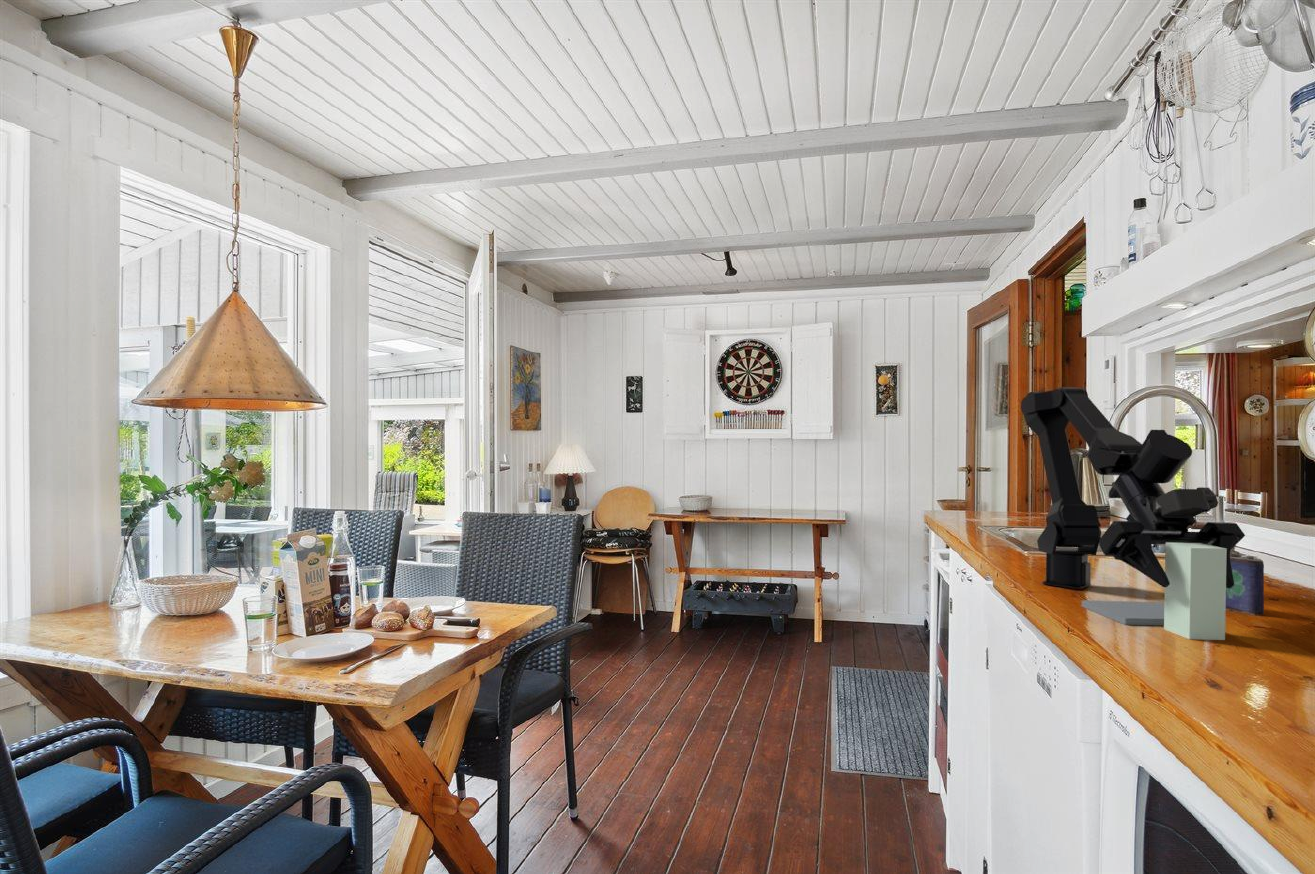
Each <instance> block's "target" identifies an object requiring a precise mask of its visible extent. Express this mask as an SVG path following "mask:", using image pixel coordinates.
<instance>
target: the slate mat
mask: <svg viewBox="0 0 1315 874" xmlns="http://www.w3.org/2000/svg"><path fill="white" fill-rule="evenodd" d="M1081 607H1082V608H1084V609H1086V610H1090V611H1092V612H1094V613H1097V614H1099V615H1100V616H1103V617H1106V618H1108V619H1110V620H1113V621H1116V622H1118V623H1120V624H1122V625H1125V626H1164V601H1135V600H1133V601H1132V600H1130V601H1129V600H1127V601H1126V600H1125V601H1123V600H1122V601H1121V600H1081Z"/></svg>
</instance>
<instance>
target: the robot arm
mask: <svg viewBox="0 0 1315 874" xmlns="http://www.w3.org/2000/svg"><path fill="white" fill-rule="evenodd" d="M1020 410H1021V413H1023V414H1022V416H1023V418H1024V420H1025V424H1026V425H1027V427H1029V429H1031V431H1033V433H1034V434H1036V435H1037V438H1038V442H1039V446H1040V447H1039V448H1040V451H1041V456H1042V457H1041V458H1042V461H1043V465H1044V466H1043V467H1044V470H1045V476H1046V480H1047V485H1048V489H1049V494H1050V499H1051V506H1050V508H1049V510H1048V512H1047V515H1046V516H1045V523H1046V524H1045V525H1046V526H1045V528H1044V529H1043V531H1041V533H1040V535H1039V537H1038V538H1037V540H1036V542H1037V549H1038V551H1039V552H1042V553H1046V555H1045V559H1046V560H1045V580H1042V581H1041V584H1043V585H1050V586H1054V587H1059V588H1060V587H1061V588H1065V589H1066V588H1067V589H1072V590H1081V589H1085V588H1088V587H1090V586H1091V585H1092V583H1091V575H1092V574H1091V573H1092V572H1091V570H1092V569H1091V567H1092V565H1091V564H1092V563H1091V562H1089V561H1088V560H1089V556H1090V555H1091V556H1097V553H1098V549H1099V548H1100V549H1101V551H1102V553H1103V554H1104V556H1106V557H1113V558H1114V559H1115V561H1116V560H1117V561H1121V562H1123V563H1125V564H1127V565H1128V566H1130V567H1131V568H1134V569H1135V570H1137V571H1138V572H1140V573H1141V574H1143V575H1145V576H1146V577H1148V578H1149V579H1151V580H1152V581H1153V582H1154V583H1156V584H1158V585H1159V586H1161V587H1162V588H1165V587H1168V586H1169V584H1170V582H1169V580H1168V578H1167V575H1166V573H1165V569H1164V568H1163V567H1162V565H1161V563H1160V561H1159V559H1158V558H1157V555H1156V554H1155V552H1154V551H1153V548H1152V547H1153V546H1152V545H1157V546H1165V544H1166V542H1168V543H1202V544H1207V545H1212V546H1216V547H1221V548H1226V549H1227V556H1226V587H1227V588H1232V587H1233V586H1234V579H1233V573H1232V567H1231V561H1230V550H1231V549H1232V548H1233V547H1234V546H1237V545H1238V543H1239V542H1240V541H1242V539H1244V537H1246V534H1245V533H1244V531H1243V530H1242V529H1241V528H1240V526H1239V525H1238V524H1237V523H1235V522H1225V521H1224V522H1216V521H1214V522H1213V521H1208V522H1206V524H1204V525H1203V527H1202V528H1201V529H1200V530H1199V531H1189V527H1191V526H1193V525H1194V524H1195V523H1196V522H1197V520H1196V518H1195V517H1197V516H1198V515H1201V514H1203V513H1208V512H1210V511H1211V510H1213V509H1214V508H1217V507H1218V505H1219V500H1218V497H1217V496H1216V494H1215V493H1214V492H1213V491H1212V489H1211V488H1210V487H1203V486H1202V487H1199V486H1198V487H1197V488H1178V489H1177V488H1176V489H1172V490H1170V491H1169V490H1168V492H1165V491H1164V490H1163V488H1162V486H1161V485H1160V484H1168V483H1170V482H1171V481H1172V480H1173V479H1174V478H1175V477H1176V475H1177V474H1178V473H1179V471H1180V470H1181V469H1182V467H1184V465H1185V464H1186V463H1187V461H1188V460H1189V459H1190V458H1191V456H1192V455H1193V450H1192V448H1191V446H1190V444H1189V443H1187V442H1185V441H1184V440H1183V439H1180V438H1179V437H1177V436H1174V435H1172V434H1168V433H1167V432H1166V430H1165V429H1150V431H1149V432H1148V434H1147V436H1146V438H1145V440H1143V442H1142V443H1141V442H1140V441H1139V440H1137V439H1136V438H1135V437H1133V436H1131V435H1129V434H1127V433H1124V432H1122V431H1119V429H1116V428H1115V427H1114V425H1113V424H1112V423H1111V422H1110V421H1109V420H1108V419H1107V418H1106V416H1105V415H1104V414H1103V413H1102V412H1101V411H1100V409H1099V408H1098V407H1097V406H1096V405H1095V403H1093V401H1092V399H1090V397H1089V394H1088V392H1087V390H1086V389H1084V388H1081V387H1064V386H1063V387H1059V388H1055V389H1051V390H1048V391H1030V392H1028V393H1027V394H1026V396H1024V397H1023V398H1022V400H1021V401H1020ZM1069 423H1071V425H1072V426H1073V427H1074V428H1075V430H1076V431H1077V432H1078V434H1079V435H1080V436H1081V438H1082V439H1083V440H1084V441H1085V443H1086V445H1087V446H1088V451H1087V458H1088V460H1089V462H1090V463H1091V466H1092V467H1093V469H1094V471H1095V472H1096V473H1097V474H1098V475H1100V476H1118V477H1117V478H1116V479H1115V480H1114V481H1113V482H1112V483H1111V488H1110V489H1109V490H1108V497H1109V498H1110V499H1120V500H1121V501H1122V503H1123V504H1124V506H1125V508H1126V510H1127V511H1128V513H1129V514H1128V515H1127V517H1126V520H1113V521H1112V523H1110V525H1109V526H1108V528H1106V530H1105V532H1103V534H1102V529H1101V526H1102V525H1101V523H1100V521H1099V517H1098V511H1097V508H1096V507H1095V505H1093V504H1087V503H1086V502H1084V500H1082V497H1081V492H1080V489H1079V488H1080V487H1079V483H1078V478H1077V475H1076V469H1075V465H1074V461H1073V457H1072V453H1071V449H1070V444H1069V439H1068V436H1067V427H1068V426H1069Z"/></svg>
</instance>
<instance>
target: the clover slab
mask: <svg viewBox="0 0 1315 874" xmlns="http://www.w3.org/2000/svg"><path fill="white" fill-rule="evenodd" d="M1235 548H1238V547H1237V545H1235V546H1234V547H1233V548H1232V549H1231V550H1230V561H1231V567H1232V573H1233V579H1234V586H1233V587H1232V588H1227V587H1226V611H1232V612H1235V613H1237V612H1238V613H1242V614H1247V615H1251V616H1260V617H1262V616H1264V612H1265V611H1264V609H1265V593H1264V591H1265V587H1264V586H1265V584H1264V582H1265V579H1264V578H1265V577H1264V576H1265V572H1264V570H1265V564H1264V561H1263V560H1262V559H1261V558H1255V557H1254V555H1249V554H1247V555H1246V556H1245V554H1244V553H1243V554H1242V553H1241V552H1239V551H1236V550H1235Z"/></svg>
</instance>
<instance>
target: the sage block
mask: <svg viewBox="0 0 1315 874" xmlns="http://www.w3.org/2000/svg"><path fill="white" fill-rule="evenodd" d="M1164 546H1165V549H1164V556H1165V557H1164V558H1165V560H1164V561H1165V562H1164V572H1165V573H1166V575H1167V578H1168V580H1169V582H1170V584H1169V586H1168V587H1164V601H1163V602H1164V625H1163V630H1165V631H1167V632H1169V633H1170V632H1171V633H1173V634H1175V635H1178V636H1180V637H1183V638H1185V639H1188V640H1198V641H1199V640H1203V641H1206V640H1207V641H1210V640H1213V641H1214V640H1215V641H1217V640H1218V641H1225V640H1226V611H1227V610H1226V556H1227V549H1226V548H1221V547H1216V546H1212V545H1207V544H1202V543H1168V542H1166V544H1165V545H1164Z"/></svg>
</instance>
